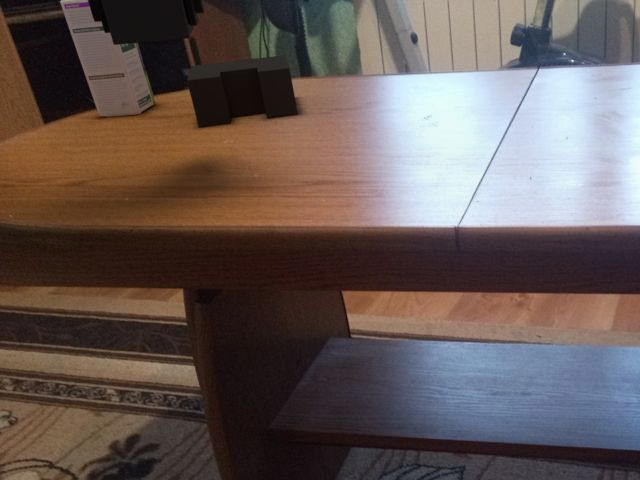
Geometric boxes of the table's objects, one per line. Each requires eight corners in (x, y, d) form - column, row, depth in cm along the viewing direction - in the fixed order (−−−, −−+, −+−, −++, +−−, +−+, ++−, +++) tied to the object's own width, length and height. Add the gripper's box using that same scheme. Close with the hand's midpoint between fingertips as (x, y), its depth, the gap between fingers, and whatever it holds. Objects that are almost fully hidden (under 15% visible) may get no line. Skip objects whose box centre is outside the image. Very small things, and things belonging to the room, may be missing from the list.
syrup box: (140, 114, 97) (104, -7, 89) (97, 117, 97) (57, -3, 90) (156, 104, 102) (124, -11, 94) (115, 107, 102) (79, -8, 95)
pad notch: (198, 127, 89) (186, 80, 86) (202, 109, 97) (191, 65, 94) (298, 114, 91) (289, 67, 88) (292, 97, 100) (284, 54, 97)
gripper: (210, -236, 58) (255, 13, 67) (-30, -231, 54) (53, 30, 64) (206, -253, 52) (257, 24, 61) (-65, -250, 48) (33, 43, 58)
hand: (152, 24), depth 62 cm, fingers closed on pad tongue, 6 cm apart
